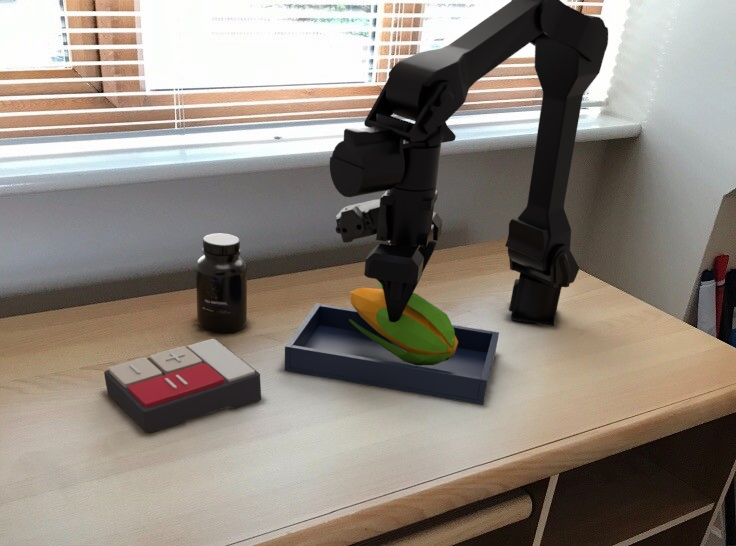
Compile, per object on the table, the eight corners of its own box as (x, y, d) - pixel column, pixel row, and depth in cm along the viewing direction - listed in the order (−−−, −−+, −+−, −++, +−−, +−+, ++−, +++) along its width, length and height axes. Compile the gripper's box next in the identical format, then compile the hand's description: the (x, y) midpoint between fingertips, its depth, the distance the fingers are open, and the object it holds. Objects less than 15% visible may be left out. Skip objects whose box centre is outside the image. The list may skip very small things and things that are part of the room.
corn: (431, 327, 99) (328, 270, 111) (424, 385, 104) (326, 323, 116) (476, 313, 103) (372, 259, 115) (467, 369, 108) (368, 312, 120)
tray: (495, 355, 116) (499, 332, 114) (482, 405, 104) (487, 380, 102) (315, 325, 120) (316, 303, 118) (284, 370, 108) (284, 346, 106)
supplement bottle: (207, 337, 115) (204, 250, 107) (191, 317, 119) (186, 232, 112) (254, 330, 117) (254, 244, 110) (236, 311, 122) (235, 228, 115)
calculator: (101, 365, 99) (214, 332, 106) (107, 397, 101) (217, 363, 108) (142, 406, 92) (261, 368, 99) (147, 439, 94) (262, 400, 102)
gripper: (362, 156, 107) (354, 275, 116) (324, 197, 92) (318, 330, 102) (449, 167, 105) (434, 287, 115) (424, 211, 91) (409, 344, 100)
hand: (399, 310), depth 108 cm, fingers closed on corn, 7 cm apart
